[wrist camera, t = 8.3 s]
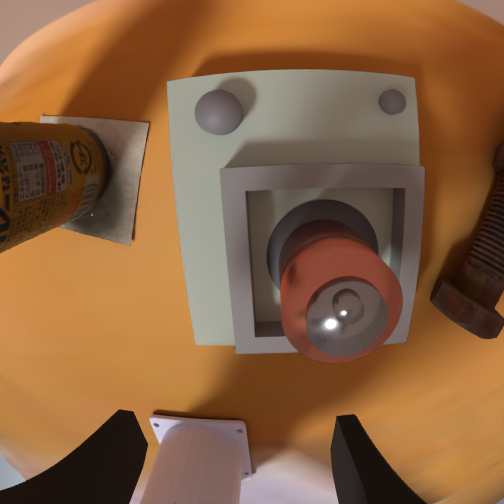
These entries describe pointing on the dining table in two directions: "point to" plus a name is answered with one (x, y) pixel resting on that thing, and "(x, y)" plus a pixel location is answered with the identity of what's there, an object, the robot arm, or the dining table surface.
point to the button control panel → (288, 186)
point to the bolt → (479, 272)
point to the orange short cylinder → (336, 293)
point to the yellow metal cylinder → (69, 177)
